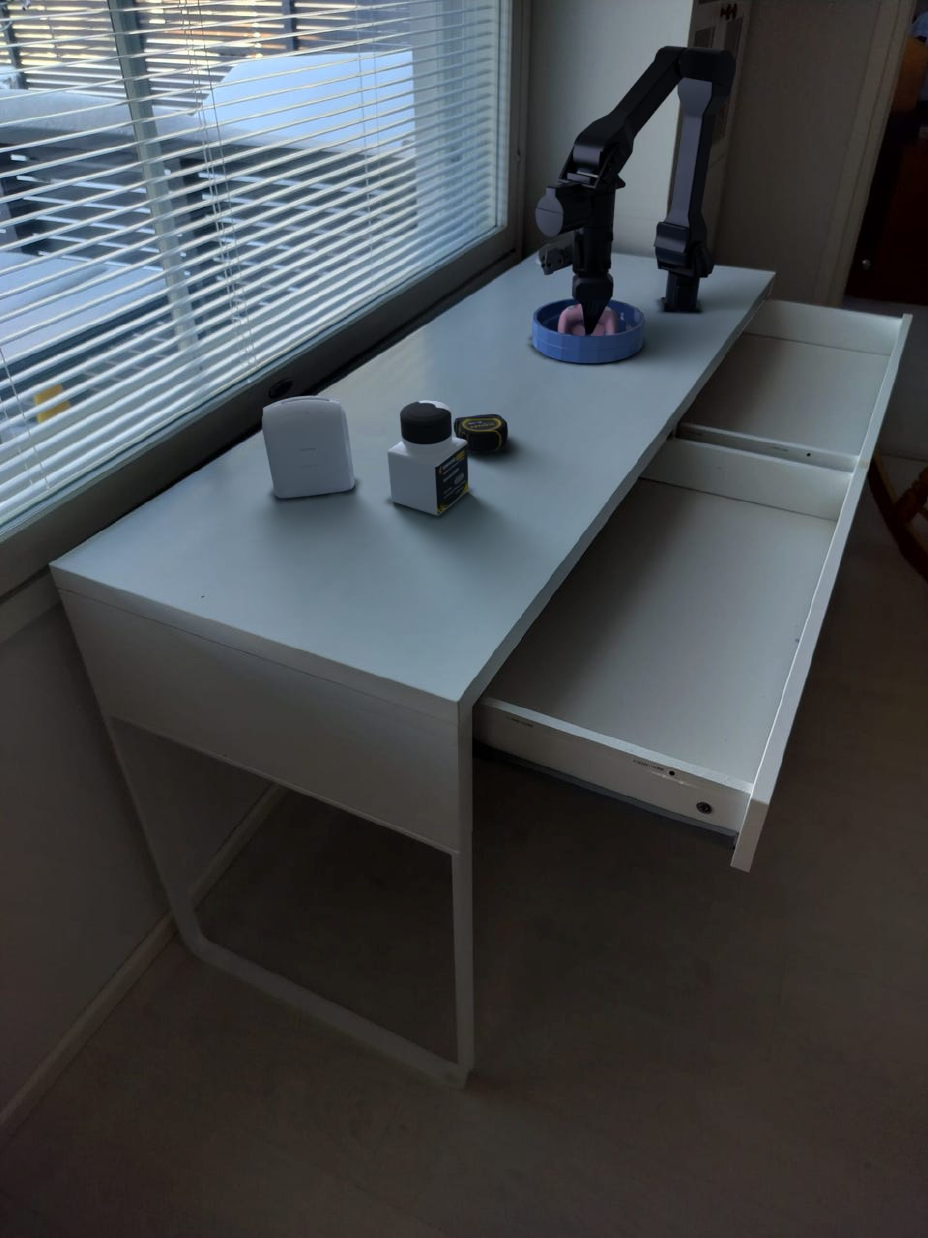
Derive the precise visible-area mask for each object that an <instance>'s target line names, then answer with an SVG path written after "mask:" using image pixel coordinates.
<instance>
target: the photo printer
mask: <svg viewBox="0 0 928 1238" xmlns="http://www.w3.org/2000/svg"><path fill="white" fill-rule="evenodd" d="M347 419H348V418H347V413H346V411H345V409H344V408H343V406H342V405H341V399H338V398H335V397H330V396H329V397H328V396H321V395H302V396H294V397H289V398H285V399H281V400H278V401H276V402H273V403H271V404H268V405H267V406H264V407H263V408H262V417H261V430H262V436H263V441H264V447H265V451H266V455H267V460H268V461H267V462H268V467H269V471H270V475H271V483H272V486H273V491H274V494H275V496H276V497H277V498H279V499H290V498H302V497H309V496H317V495H325V494H335V493H341V492H347V491H350V490H352V489H353V488H354V487H355V484H356V481H355V473H354V464H353V457H352V450H351V442H350V435H349V427H348V420H347Z"/></svg>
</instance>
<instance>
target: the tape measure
mask: <svg viewBox="0 0 928 1238" xmlns="http://www.w3.org/2000/svg"><path fill="white" fill-rule="evenodd" d="M452 425H453V432H454V434H455V437H456V438H459V439H463V440H466V441H467V452H470V453H478V454H488V453H493V452H496V451H500V450H501V449H502V448H504V447H505V446H506V445H507V443H508V438H509V427H508V422H507V421H506V419H505V418H503V416H502V415H500V414H498V413H486V414H475V415H469V416H459V417H455V419H454V421H453V422H452Z"/></svg>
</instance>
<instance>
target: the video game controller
mask: <svg viewBox="0 0 928 1238" xmlns="http://www.w3.org/2000/svg"><path fill="white" fill-rule="evenodd" d="M581 323H584V319H583V312H582V305H581V304H578V305H574V306H570V307H568V308H567V309H565V310H564V311H563V312H562V314H561V315H560V319H559V323H558V332H560V333H563V334H568V331H569V332H570V333H571V335H578V336H584V335H585V329H584V327H583V326H582V325H581ZM606 331H607V332H608V335H612V334H617V333H618V321H617V315H616V313H615V312H614V311H613V310H612V309H611V308H609V307H607V306H606V308H605V310H604V312H603V314H602V316H601V317H600V319H599V321H598V323H597V325H596V327H595V329H594V331H593V333H592V334H591V336H603V335H604V334H605V332H606Z"/></svg>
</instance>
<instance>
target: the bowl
mask: <svg viewBox="0 0 928 1238" xmlns="http://www.w3.org/2000/svg"><path fill="white" fill-rule="evenodd" d="M578 304H580V303H579V302H578V301H577V300H575V299H574V298H573V297H572V298H563V299H560V300H555V301H550V302H548V303H545V304H544V305H541V306H539V307H538V308H537V309H536V310H535V311H534V312H533V313H532V314H533V315H532V337H531V338H532V339H531V340H532V342H531V343H532V345H533V346H534V348H535V350H536V351H538V352H539V353H540V354H543V355H545V356H546V357H548V358H552V359H556V360H559V361H563V362H570V363H571V362H572V363H579V364H600V363H609V362H610V363H611V362H616V361H619V360H623V359H627V358H629V357H631V356H633V355H635V354H637V353H638V352H639V351H640V349H642V347H643V345H644V335H645V327H646V316H645V313H644V312H643V311H642V310H640V309H639V308H638V307H636V306H635V305H632V304H630V303H627V302H623V301H620V300H615V299H611V300H609V302H608V304H607V307H609V308H611V309H612V310H613V311H614V312H615V313H616V315H617V321H618V333H617V334H612V335H608V332H607V331H606V332H605V334H604V335H603V336H591V334H586V333H585V335H584V336H578V335H571V333H570V332H569V331H568V334H563V333H560V332H558V323H559V319H560V315H561V314H562V312H563V311H564V310H565V309H567V308H568V307H570V306H574V305H578ZM581 325H582V326H583V327H584V329H585V326H584V323H581Z"/></svg>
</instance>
